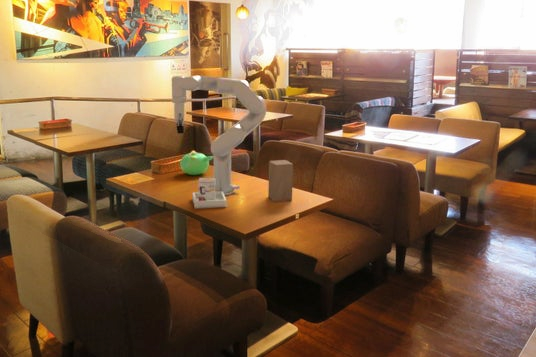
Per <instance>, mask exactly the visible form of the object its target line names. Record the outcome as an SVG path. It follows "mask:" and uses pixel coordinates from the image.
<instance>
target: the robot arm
mask: <svg viewBox="0 0 536 357" xmlns="http://www.w3.org/2000/svg"><path fill="white" fill-rule="evenodd" d="M197 90H200V91H209V92H214V93H216V94H217V95H218V94H219V95H226V96H227V95H229V96H235V97H236V98H237V99H238V101H239V102H240V103H241V104H242V105H243V106H244V108H245V109H247V110H248V111H249V112H247V114H246V115H245V116H243V117H242V118H241V119H239V121H237V122H236V123H235V124H233V125H231V126H230V127H229V128H228V129H226V130H225V131H224V132H223V133H222V134H221V135H218V136H217V137H216V138H215V139H214V140H213V141H212V142H211V145H210V151H211V153H212V155H213V178H216V192H222V191H223V193H224V195H225V196H229V195H232V194H234V193H235V190H240V185H237V184H232V150H234V149H235V148H237V147H238V146H239V145H240V144H241V143H243V142H244V140H245V138H246V137H247V136H248V135H249V134H250V133H252V132H253V131H254V130H255V129H256V128H257V127H259V125H261V123H262V122H263V120H264V119H265V117H266V113H267V104H266V100H265V99H264V98H263V96H260V95H257V94H256V92H254V91H253V89H252V88H251V86H250V83H249V82H248V80H245V79H241V78H239V79H238V78H229V77H220V76H219V77H218V76H216V77H214V76H207V75H205V76H204V75H197V74H196V75H191V76H183V75H173V76H172V77H171V102H172V103H173V105H174V106H173V107H174V108H173V112H174V114H173V115H174V122H176V131H177V132H176V133H177V134H184V131H185V129H184V128H185V127H184V122H185V104H187V91H190V92H195V91H197Z"/></svg>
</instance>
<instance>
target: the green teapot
mask: <svg viewBox="0 0 536 357" xmlns="http://www.w3.org/2000/svg"><path fill="white" fill-rule="evenodd" d="M213 159H214V155H213V156H206V155H205V154H204V153H202V152H197V151H195V150H191V152H188V153H187V154H184V155H183V156H182V158H181V160H180V162H179V165H180V168H181V170H182V172H184V173H185V174H187V175H191V176H199V175H202V174H204V173H205V172H206V171H207V170H208V168H209V166H210V161H212V160H213Z"/></svg>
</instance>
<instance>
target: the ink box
mask: <svg viewBox="0 0 536 357" xmlns="http://www.w3.org/2000/svg"><path fill="white" fill-rule="evenodd" d="M198 192H199V201H209V200H215V196H216V178H214V177H199V178H198Z"/></svg>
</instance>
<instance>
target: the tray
mask: <svg viewBox="0 0 536 357" xmlns="http://www.w3.org/2000/svg"><path fill="white" fill-rule="evenodd" d="M192 203H193V207H194V209H209V208H211V209H213V208H227V206H228V201H227V197H226V195H224V193H223V191H222V192H216V196H215V200H209V201H199V191H198V192H192Z"/></svg>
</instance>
